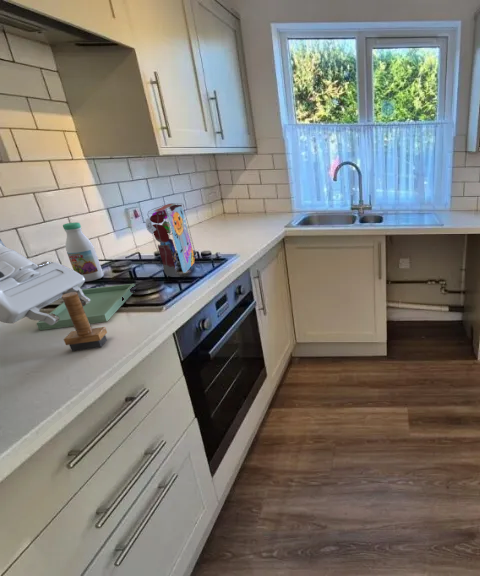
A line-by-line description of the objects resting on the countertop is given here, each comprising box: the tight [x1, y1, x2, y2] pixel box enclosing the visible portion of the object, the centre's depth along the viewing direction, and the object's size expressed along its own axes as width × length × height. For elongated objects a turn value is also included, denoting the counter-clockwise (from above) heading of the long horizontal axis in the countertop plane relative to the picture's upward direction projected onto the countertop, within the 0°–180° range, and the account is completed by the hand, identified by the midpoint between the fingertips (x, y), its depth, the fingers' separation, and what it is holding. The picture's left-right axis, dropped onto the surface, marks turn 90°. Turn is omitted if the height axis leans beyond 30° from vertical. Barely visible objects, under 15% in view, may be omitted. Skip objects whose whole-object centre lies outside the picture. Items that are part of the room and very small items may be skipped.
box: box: [145, 202, 198, 282], centre depth 124 cm, size 25×6×24 cm, turn 9°
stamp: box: [61, 292, 108, 352], centre depth 84 cm, size 7×4×14 cm, turn 105°
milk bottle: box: [62, 221, 104, 283], centre depth 126 cm, size 8×8×20 cm
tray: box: [36, 283, 136, 331], centre depth 107 cm, size 16×24×2 cm, turn 16°
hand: (72, 312), depth 84 cm, fingers open, 8 cm apart
